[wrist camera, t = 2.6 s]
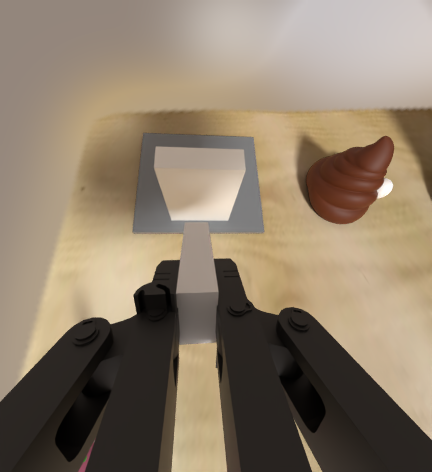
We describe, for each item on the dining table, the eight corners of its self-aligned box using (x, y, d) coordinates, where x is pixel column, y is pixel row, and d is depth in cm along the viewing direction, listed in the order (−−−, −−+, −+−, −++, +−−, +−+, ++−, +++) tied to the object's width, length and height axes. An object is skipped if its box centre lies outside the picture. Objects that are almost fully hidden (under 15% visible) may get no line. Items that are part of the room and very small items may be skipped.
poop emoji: (297, 163, 30) (339, 104, 21) (351, 165, 30) (414, 109, 21) (309, 226, 26) (364, 187, 18) (369, 227, 27) (451, 190, 18)
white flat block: (227, 204, 26) (243, 147, 16) (228, 220, 25) (245, 170, 15) (172, 204, 25) (155, 144, 16) (171, 220, 24) (153, 167, 15)
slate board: (252, 140, 30) (253, 137, 30) (262, 233, 25) (264, 231, 25) (144, 136, 29) (143, 132, 28) (133, 233, 24) (132, 232, 23)
